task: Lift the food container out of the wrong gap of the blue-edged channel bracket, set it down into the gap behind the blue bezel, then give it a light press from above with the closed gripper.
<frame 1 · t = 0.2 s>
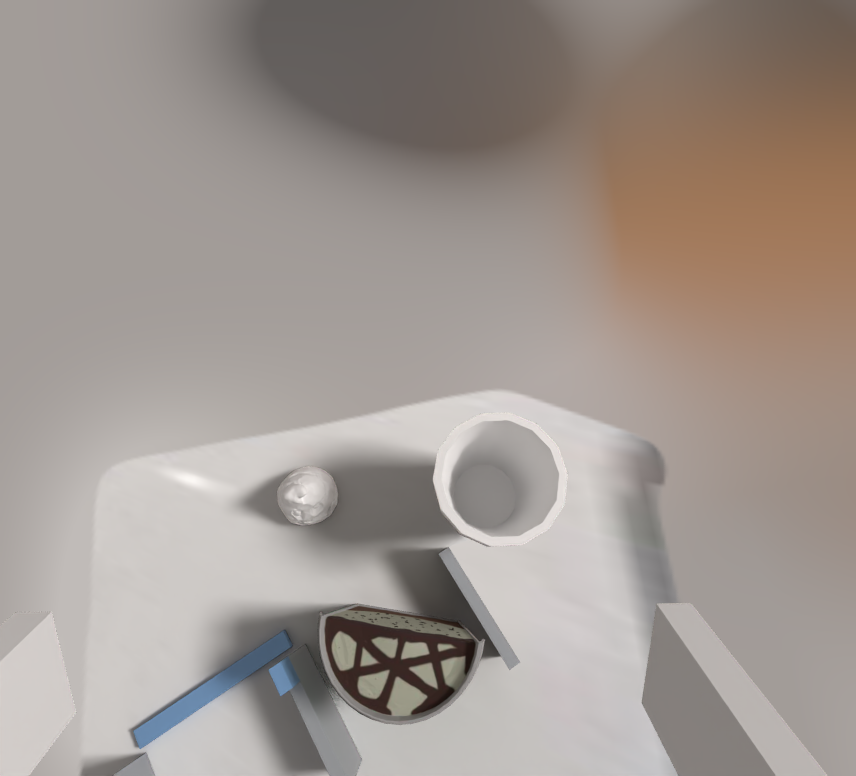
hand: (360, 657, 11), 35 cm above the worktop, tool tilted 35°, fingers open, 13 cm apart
garlic bulb: (312, 497, 47), on the worktop
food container: (402, 649, 42), on the worktop
foam cup: (483, 496, 46), on the worktop
blue-edged channel bracket: (327, 703, 41), on the worktop
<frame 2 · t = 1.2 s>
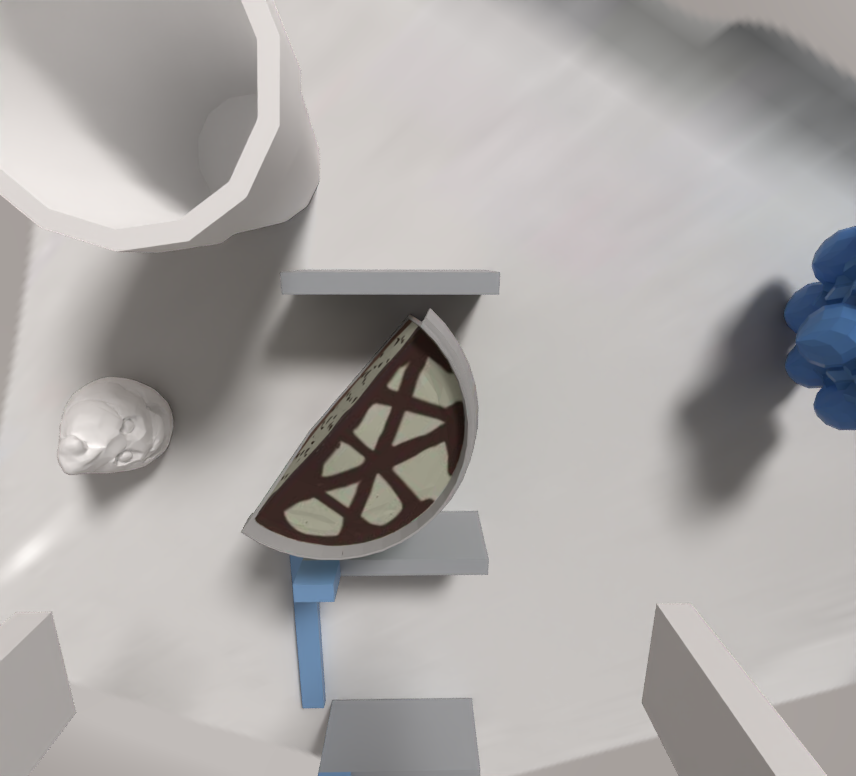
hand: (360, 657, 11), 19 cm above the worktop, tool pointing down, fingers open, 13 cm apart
garlic bulb: (134, 415, 29), on the worktop
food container: (398, 406, 29), on the worktop
foam cup: (261, 162, 25), on the worktop
blue-edged channel bracket: (399, 518, 31), on the worktop
grapes: (774, 314, 28), on the worktop
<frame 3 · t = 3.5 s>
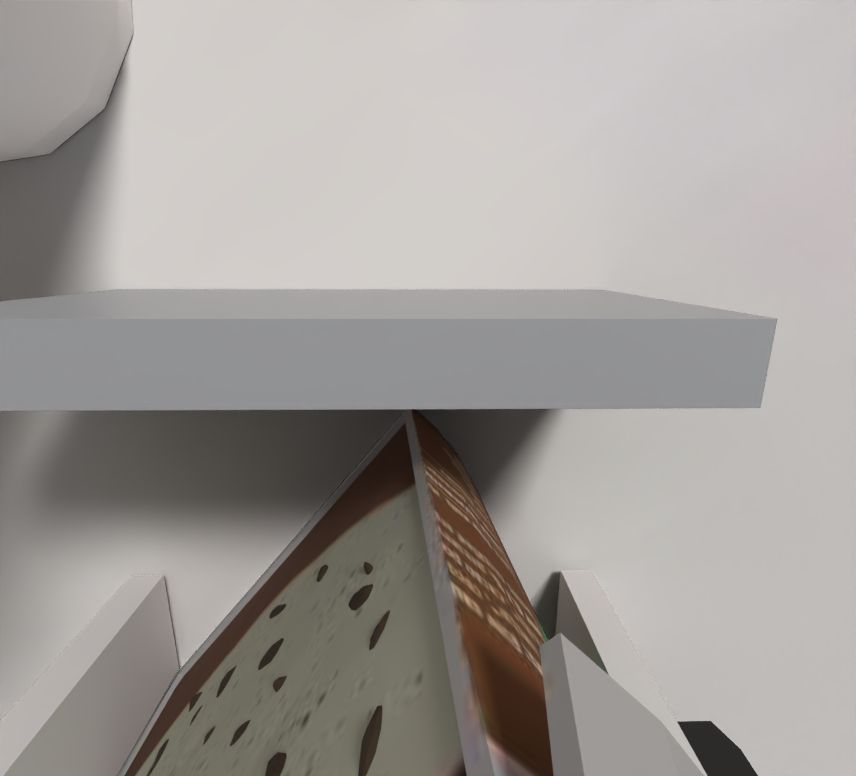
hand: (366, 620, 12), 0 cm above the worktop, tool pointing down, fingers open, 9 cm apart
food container: (386, 610, 12), on the worktop
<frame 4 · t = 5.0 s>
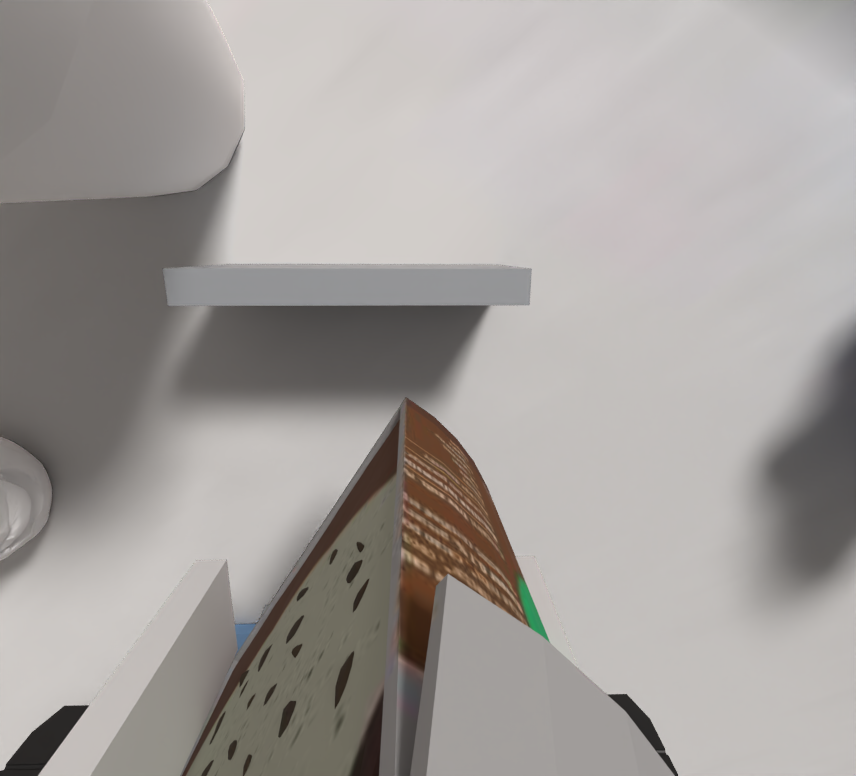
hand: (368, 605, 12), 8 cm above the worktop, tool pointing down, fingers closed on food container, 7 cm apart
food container: (411, 588, 13), point 7 cm above the worktop, touching gripper
foam cup: (153, 96, 16), on the worktop
blue-edged channel bracket: (376, 611, 22), on the worktop
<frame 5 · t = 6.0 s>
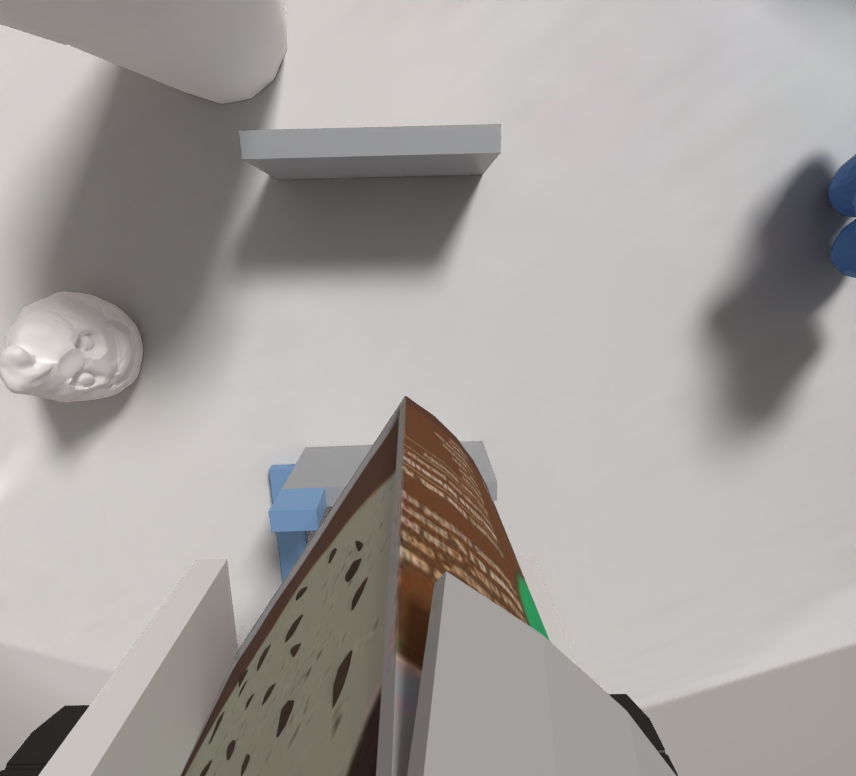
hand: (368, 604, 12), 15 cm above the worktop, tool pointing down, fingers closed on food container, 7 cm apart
garlic bulb: (99, 341, 25), on the worktop
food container: (411, 587, 13), point 14 cm above the worktop, touching gripper
foam cup: (219, 27, 22), on the worktop
blue-edged channel bracket: (394, 452, 27), on the worktop
grapes: (815, 198, 24), on the worktop
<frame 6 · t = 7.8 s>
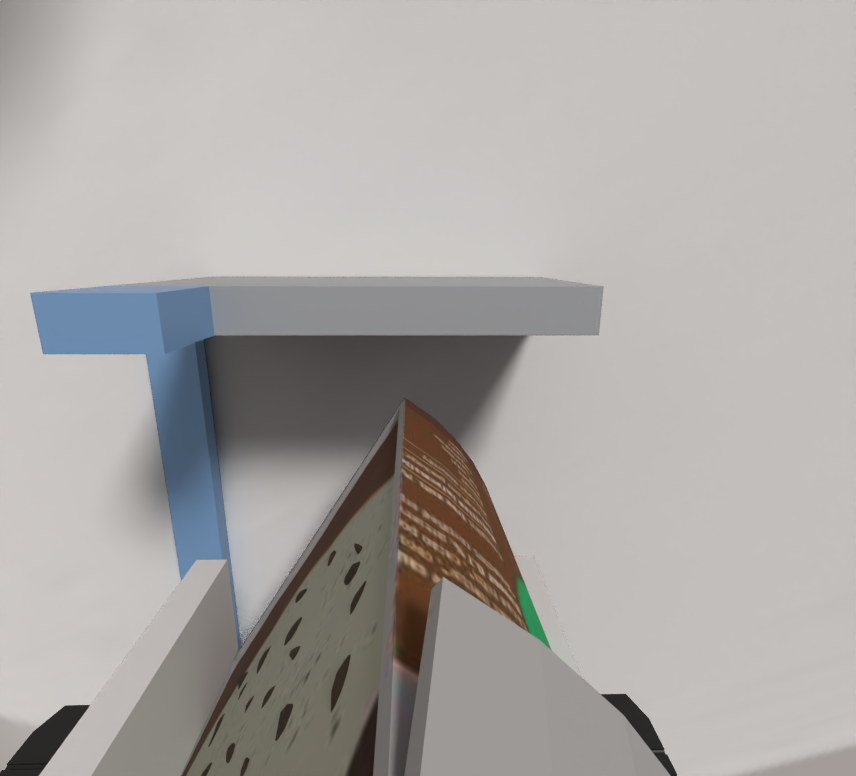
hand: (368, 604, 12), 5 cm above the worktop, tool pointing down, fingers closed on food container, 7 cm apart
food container: (411, 589, 13), point 4 cm above the worktop, touching gripper
blue-edged channel bracket: (379, 293, 15), on the worktop
when the fingers open (0 cm above the worktop, at t = 8.8 s): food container stays where it is, on the worktop.
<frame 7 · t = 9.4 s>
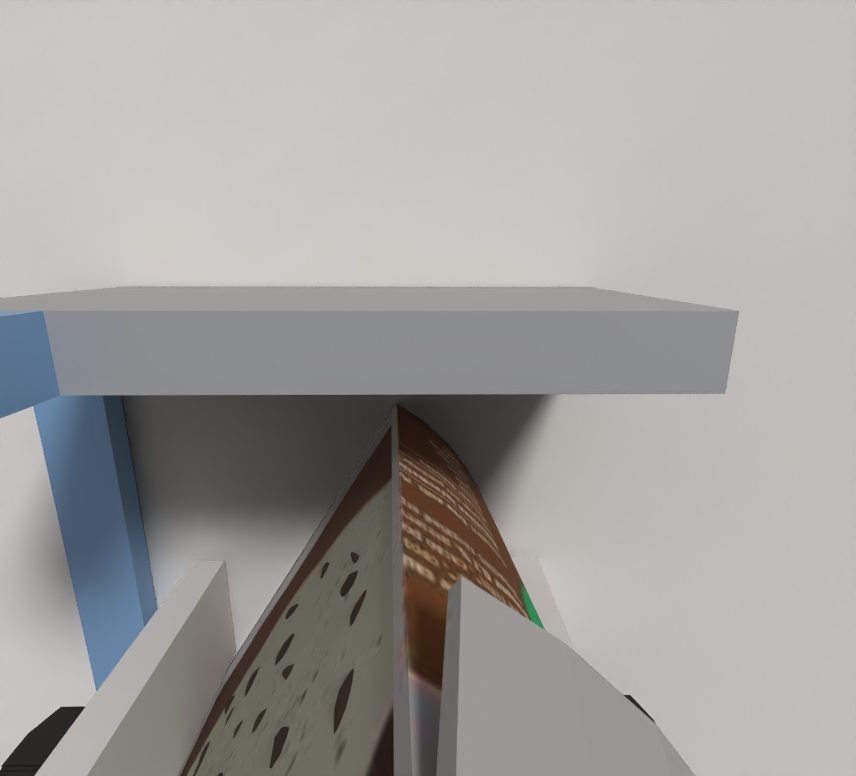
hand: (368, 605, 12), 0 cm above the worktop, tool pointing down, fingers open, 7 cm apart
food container: (404, 602, 13), on the worktop
blue-edged channel bracket: (360, 310, 10), on the worktop
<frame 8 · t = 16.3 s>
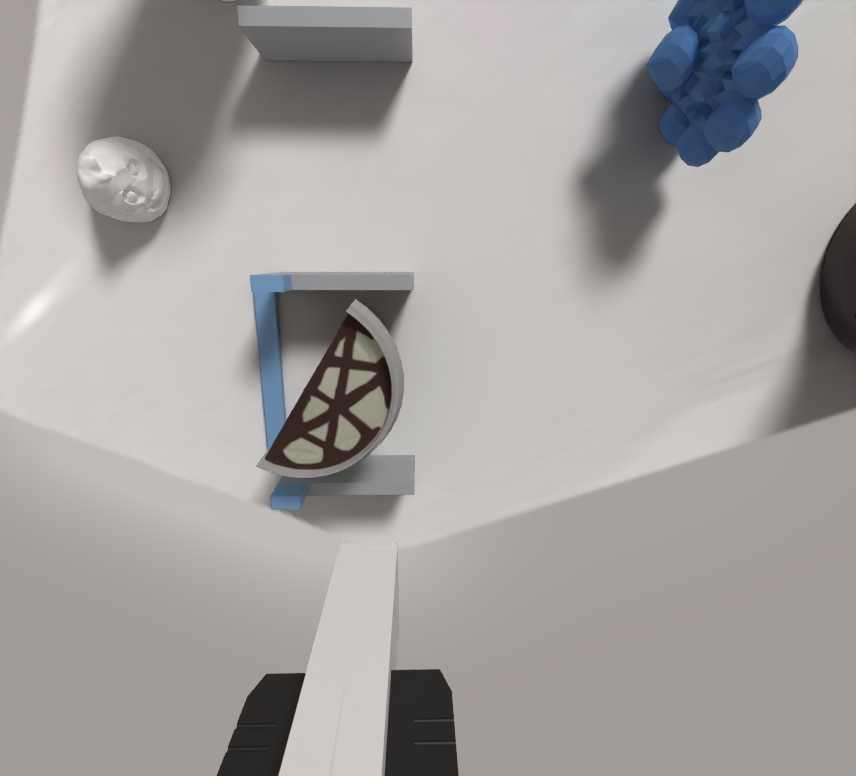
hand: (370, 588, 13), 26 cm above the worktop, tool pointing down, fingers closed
garlic bulb: (137, 184, 35), on the worktop
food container: (363, 376, 39), on the worktop
blue-edged channel bracket: (347, 279, 36), on the worktop
grapes: (654, 90, 34), on the worktop
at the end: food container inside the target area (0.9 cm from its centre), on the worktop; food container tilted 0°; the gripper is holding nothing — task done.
